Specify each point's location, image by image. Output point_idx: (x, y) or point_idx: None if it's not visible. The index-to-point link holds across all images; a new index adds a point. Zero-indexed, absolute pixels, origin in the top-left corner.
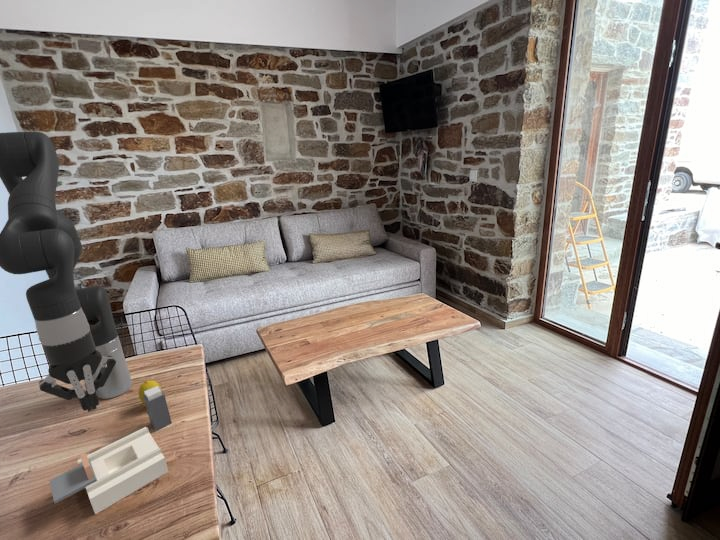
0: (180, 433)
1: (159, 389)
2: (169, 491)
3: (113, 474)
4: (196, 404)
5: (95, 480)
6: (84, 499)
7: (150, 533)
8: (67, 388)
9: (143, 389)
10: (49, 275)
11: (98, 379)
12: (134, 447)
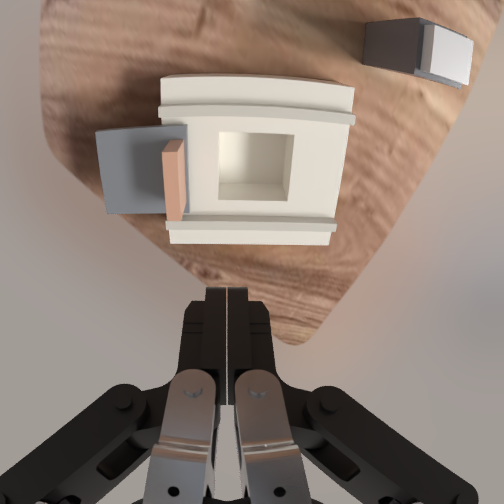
0: (395, 130)
1: (468, 70)
2: (295, 266)
3: (224, 229)
4: None
5: (187, 212)
6: None
7: None
8: (126, 433)
9: None
10: None
11: (322, 438)
12: (296, 151)
